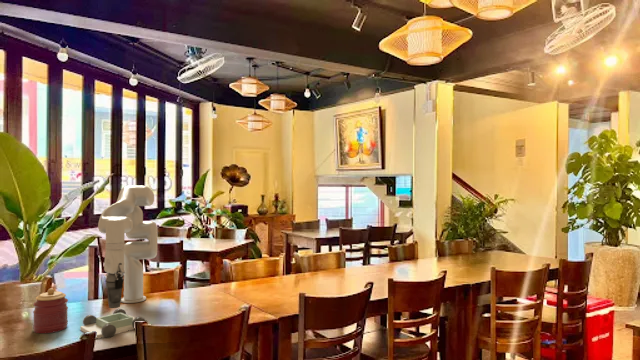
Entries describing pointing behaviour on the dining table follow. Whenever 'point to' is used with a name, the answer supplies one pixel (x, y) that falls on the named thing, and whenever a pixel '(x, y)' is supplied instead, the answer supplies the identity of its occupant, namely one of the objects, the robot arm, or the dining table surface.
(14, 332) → the dining table surface
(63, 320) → the canister
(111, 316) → the chassis bay
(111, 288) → the beverage cup
